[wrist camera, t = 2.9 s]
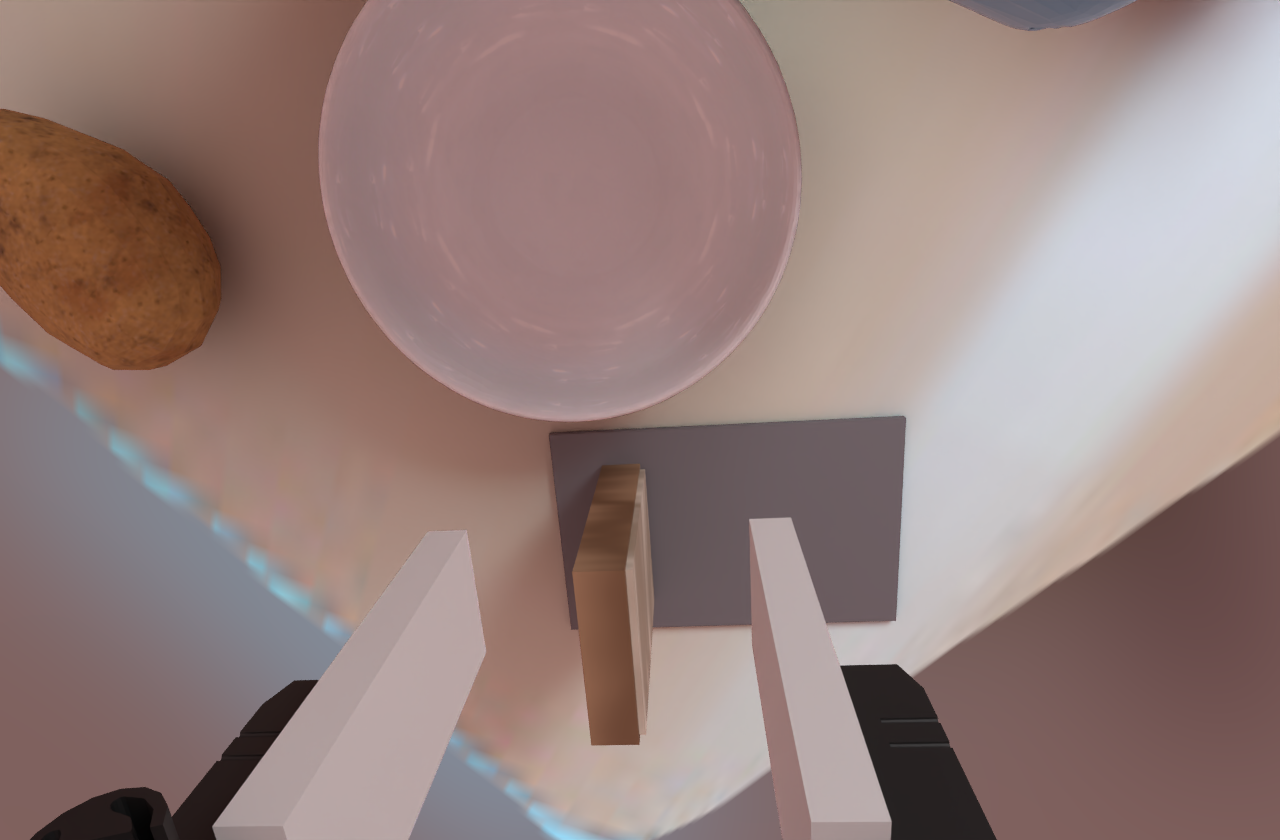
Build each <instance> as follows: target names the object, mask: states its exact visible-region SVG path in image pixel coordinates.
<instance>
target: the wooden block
mask: <svg viewBox="0 0 1280 840" xmlns="http://www.w3.org/2000/svg"><path fill="white" fill-rule="evenodd" d="M572 575H573V584H574V593H575V602H576V610H577V619H578V628H579V637H580V646H581V655H582V664H583V673H584V682H585V691H586V700H587V709H588V718H589V727H590V736H591V745H639V742H640V735H646V726H647V710H648V694H649V678H650V663H651V647H652V631H653V615H654V587H653V573H652V559H651V545H650V531H649V517H648V503H647V489H646V475H645V469H640V464H621V465H602V468H601V471H600V475H599V478H598V482H597V485H596V489H595V493H594V496H593V500H592V503H591V507H590V510H589V514H588V518H587V521H586V525H585V528H584V532H583V535H582V539H581V543H580V546H579V550H578V553H577V557H576V560H575V564H574V568H573V571H572Z"/></svg>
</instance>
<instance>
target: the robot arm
mask: <svg viewBox="0 0 1280 840" xmlns="http://www.w3.org/2000/svg"><path fill="white" fill-rule="evenodd" d="M950 1H952V2H954V3H956V4H959V5H961V6H963V7H965V8H967V9H970V10H972V11H974V12H976V13H979V14H981V15H983V16H985V17H988V18H990V19H992V20H994V21H997V22H999V23H1001V24H1004V25H1006V26H1009V27H1012V28H1015V29H1021V30H1028V31H1037V30H1041V29H1046V28H1060V27H1072V26H1076V25H1080V24H1084V23H1087V22H1089V21H1092V20H1095V19H1098V18H1100V17H1103V16H1105V15H1107V14H1109V13H1112V12H1114V11H1116V10H1119V9H1121V8H1123V7H1125V6H1127V5H1129V4H1131V3H1133V2H1135V1H1136V0H950ZM749 534H750V576H751V618H752V647H753V654H754V660H755V667H756V673H757V680H758V686H759V693H760V699H761V705H762V712H763V718H764V725H765V731H766V738H767V744H768V751H769V757H770V763H771V770H772V776H773V783H774V789H775V795H776V802H777V809H778V815H779V821H780V828H781V834H782V840H997V839H996V837H995V835H994V833H993V831H992V829H991V827H990V825H989V823H988V821H987V819H986V817H985V814H984V813H983V810H982V808H981V806H980V804H979V802H978V800H977V798H976V796H975V794H974V792H973V790H972V788H971V786H970V784H969V782H968V779H967V777H966V775H965V773H964V771H963V769H962V767H961V765H960V763H959V761H958V759H957V756H956V754H955V752H954V750H953V748H950V745H949V740H948V738H947V736H946V734H945V732H944V730H943V728H942V725H941V723H938V718H937V715H936V713H935V711H934V709H933V707H932V705H931V703H930V701H929V699H928V696H927V694H926V693H925V690H924V688H923V687H922V686H920V685H919V684H918V683H917V682H916V681H915V680H914V679H913V678H912V677H910V676H909V675H908V674H907V673H906V672H905V671H904V670H903V669H902V668H901V667H899V666H898V665H897V664H892V665H849V666H840V664H839V661H838V658H837V655H836V652H835V649H834V646H833V643H832V640H831V637H830V634H829V631H828V628H827V625H826V622H825V619H824V616H823V613H822V610H821V607H820V604H819V601H818V598H817V595H816V592H815V589H814V586H813V583H812V580H811V577H810V574H809V571H808V568H807V565H806V562H805V559H804V556H803V553H802V550H801V547H800V543H799V540H798V537H797V534H796V531H795V528H794V525H793V522H792V519H791V517H789V518H762V519H749ZM485 654H486V646H485V640H484V634H483V628H482V621H481V615H480V609H479V603H478V596H477V590H476V584H475V578H474V571H473V565H472V559H471V553H470V546H469V540H468V534H467V530H448V531H428V532H427V533H426V534H425V536H424V537H423V539H422V540H421V541H420V543H419V544H418V545H417V547H416V548H415V550H414V551H413V552H412V554H411V555H410V556H409V558H408V559H407V560H406V562H405V563H404V565H403V566H402V567H401V569H400V570H399V571H398V573H397V574H396V576H395V577H394V578H393V580H392V581H391V582H390V584H389V585H388V586H387V588H386V589H385V591H384V592H383V593H382V595H381V596H380V597H379V599H378V600H377V602H376V603H375V604H374V606H373V607H372V608H371V610H370V611H369V613H368V614H367V615H366V617H365V618H364V619H363V621H362V622H361V623H360V625H359V626H358V628H357V629H356V630H355V632H354V633H353V634H352V636H351V637H350V639H349V640H348V641H347V643H346V644H345V645H344V647H343V648H342V649H341V651H340V652H339V654H338V655H337V656H336V658H335V659H334V660H333V662H332V663H331V665H330V666H329V667H328V669H327V670H326V671H325V673H324V674H323V676H322V677H321V678H320V680H300V681H293V682H292V683H291V684H289V685H288V686H286V687H285V688H284V689H282V690H281V691H280V692H278V693H277V694H276V695H274V696H273V697H272V698H270V699H269V700H268V701H266V702H265V703H264V704H263V705H262V706H261V707H260V708H259V709H258V711H257V712H256V713H255V714H254V716H253V717H252V718H251V720H249V722H248V723H247V724H246V725H245V727H244V728H243V729H242V730H241V732H240V737H239V738H238V737H236V738H235V739H234V740H233V742H232V743H231V744H230V745H229V747H228V748H227V749H226V750H225V752H224V753H223V754H222V759H221V761H216V763H215V764H214V765H213V767H212V768H211V769H210V770H209V771H208V773H207V774H206V775H205V776H204V778H203V779H202V780H201V782H200V783H199V784H198V785H197V786H196V788H195V789H194V790H193V791H192V793H191V794H190V795H189V796H188V798H187V799H186V800H185V802H183V804H182V805H181V806H180V808H179V809H178V810H177V811H176V813H175V814H174V815H173V816H172V817H171V814H170V811H169V808H168V806H167V803H166V801H165V800H164V798H163V796H162V794H161V793H160V792H157V791H154V790H152V789H149V788H146V787H140V788H125V789H119V790H116V791H113V792H110V793H106V794H103V795H100V796H97V797H94V798H91V799H89V800H88V801H86V802H84V803H82V804H80V805H78V806H76V807H74V808H72V809H70V810H68V811H66V812H65V813H63V814H61V815H60V816H59V817H57V818H56V819H55V820H53V821H52V822H51V823H49V824H48V825H46V826H45V827H44V828H42V829H41V830H40V831H38V832H37V833H36V834H35V835H34V836H33V837H32V838H31V839H30V840H408V839H409V837H410V834H411V832H412V830H413V827H414V825H415V822H416V820H417V818H418V815H419V813H420V810H421V808H422V806H423V803H424V801H425V798H426V796H427V793H428V791H429V789H430V786H431V784H432V782H433V779H434V777H435V774H436V772H437V769H438V767H439V764H440V762H441V760H442V758H443V755H444V753H445V750H446V748H447V745H448V743H449V741H450V738H451V736H452V733H453V731H454V729H455V726H456V724H457V721H458V719H459V717H460V714H461V712H462V709H463V707H464V705H465V702H466V700H467V697H468V695H469V693H470V690H471V688H472V685H473V683H474V681H475V678H476V676H477V673H478V671H479V669H480V666H481V664H482V661H483V659H484V657H485Z"/></svg>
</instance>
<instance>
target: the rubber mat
mask: <svg viewBox="0 0 1280 840" xmlns="http://www.w3.org/2000/svg"><path fill="white" fill-rule="evenodd" d="M905 427H906V418H905V417H904V416H893V417H872V418H851V419H830V420H809V421H788V422H767V423H747V424H726V425H705V426H684V427H663V428H642V429H621V430H600V431H579V432H558V433H550V434H549V439H550V448H551V456H552V465H553V474H554V482H555V491H556V500H557V509H558V517H559V526H560V535H561V543H562V552H563V561H564V569H565V578H566V587H567V596H568V604H569V613H570V622H571V630H573V629H579V628H578V619H577V610H576V602H575V593H574V584H573V575H572V571H573V568H574V564H575V560H576V557H577V553H578V550H579V546H580V543H581V539H582V535H583V532H584V528H585V525H586V521H587V518H588V514H589V510H590V507H591V503H592V500H593V496H594V493H595V489H596V485H597V482H598V478H599V475H600V471H601V468H602V465H621V464H640V469H645V475H646V489H647V503H648V517H649V531H650V545H651V559H652V573H653V587H654V615H653V627H683V626H719V625H752V618H751V576H750V534H749V519H762V518H789V517H791V519H792V522H793V525H794V528H795V531H796V534H797V537H798V540H799V543H800V547H801V550H802V553H803V556H804V559H805V562H806V565H807V568H808V571H809V574H810V577H811V580H812V583H813V586H814V589H815V592H816V595H817V598H818V601H819V604H820V607H821V610H822V613H823V616H824V619H825V622H826V623H829V622H866V621H896V610H897V589H898V569H899V549H900V528H901V508H902V488H903V467H904V447H905Z"/></svg>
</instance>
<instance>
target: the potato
mask: <svg viewBox="0 0 1280 840" xmlns="http://www.w3.org/2000/svg"><path fill="white" fill-rule="evenodd" d="M0 286H1V287H2V288H3V289H4V290H5V291H6V293H7V294H8V295H9V296H10V297H11V298H12V299H13V300H14V301H15V302H16V303H17V304H18V305H19V306H20V307H21V308H22V309H23V310H24V311H25V312H26V313H27V314H28V315H29V316H30V317H32V318H33V319H34V320H35V321H36V322H37V323H38V324H39V325H40V326H41V327H42V328H43V329H44V330H45V331H46V332H47V333H49V334H50V335H52V336H54V337H55V338H57V339H59V340H60V341H62V342H64V343H65V344H67V345H69V346H70V347H72V348H74V349H75V350H77V351H79V352H81V353H82V354H84V355H86V356H88V357H89V358H91V359H93V360H94V361H96V362H98V363H99V364H101V365H104V366H106V367H108V368H111V369H113V370H151V369H155V368H159V367H163V366H167V365H168V364H170V363H172V362H174V361H175V360H177V359H179V358H181V357H182V356H184V355H186V354H188V353H189V352H191V351H193V350H195V349H196V348H198V347H200V346H201V345H202V343H203V341H204V339H205V337H206V334H207V332H208V330H209V328H210V326H211V324H212V322H213V320H214V318H215V316H216V314H217V312H218V309H219V305H220V301H221V267H220V264H219V262H218V259H217V256H216V253H215V251H214V248H213V245H212V242H211V240H210V237H209V235H208V234H207V232H206V231H205V229H204V228H203V226H202V225H201V223H200V222H199V220H198V219H197V217H196V215H195V214H194V212H193V211H192V209H191V208H190V207H189V205H188V204H187V203H186V201H185V200H184V199H183V198H182V196H181V195H180V194H179V192H178V191H177V190H176V189H175V187H174V186H173V185H172V184H171V182H170V181H169V180H168V179H166V178H165V177H163V176H162V175H160V174H159V173H157V172H156V171H154V170H153V169H151V168H150V167H148V166H147V165H145V164H144V163H142V162H141V161H139V160H138V159H136V158H135V157H133V156H132V155H131V154H129V153H128V152H126V151H125V150H123V149H121V148H118V147H116V146H113V145H111V144H108V143H106V142H103V141H101V140H98V139H96V138H93V137H91V136H88V135H86V134H83V133H80V132H78V131H75V130H73V129H70V128H68V127H65V126H63V125H60V124H57V123H55V122H52V121H50V120H47V119H45V118H40V117H36V116H32V115H28V114H23V113H19V112H15V111H11V110H6V109H0Z"/></svg>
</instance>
